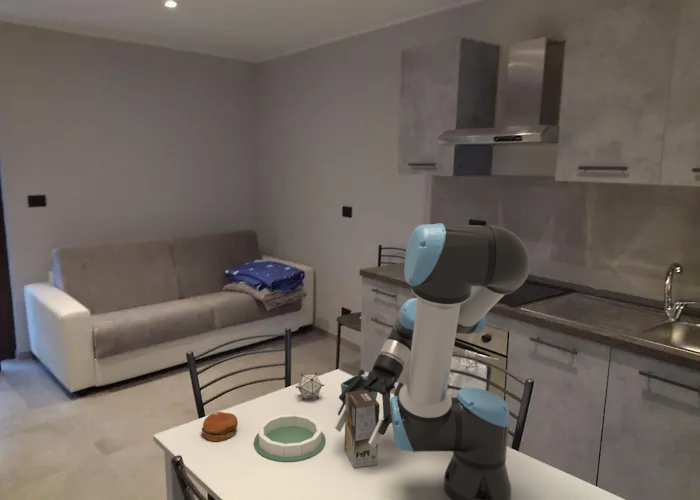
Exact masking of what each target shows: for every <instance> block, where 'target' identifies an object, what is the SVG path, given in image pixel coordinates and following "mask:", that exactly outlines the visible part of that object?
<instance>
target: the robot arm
mask: <svg viewBox="0 0 700 500" xmlns="http://www.w3.org/2000/svg"><path fill="white" fill-rule="evenodd" d="M403 269H404V271H403V272H404V274H403V275H404V279H405V282H406V283H407V285H410V290H411V292H412V294H413V295H414V296H416V297H413V298H410V299H408V300H406V301H404V303H403V304H402V306H401V307H400V309H399V310H398V315H397V317H396V320H395V322H394V324H393V326H392V329H391V331H390V333H389V334H388V337H387V338H386V340H385V342H384V344H383V346H382V348H381V350H380V351H379V354H378V356H377V358H376V360H375V361H374V364H373V365H372V366H373V367H372V369H371V370H370V372H368V371H365V370H364V369H360V370H359V372H358V374H357V375H358V376H357V377H356V378H355V379H354V380H353V381H352V383H351V384H350V385H349V386H348V387H347V388H346V389H345V390H344V391H343V393H342V392H341V393H340V395H339V396H338V399H339V401H341V402H342V404H341V407H340V409H339V411H338V413H337V415H338V417H337V419H336V422H335V423H334V424H333V428H334V429H335V430H336V431H337V432H339V433H340V432H341V431H342V429H343V427H345V410H346V392H353V391H359V390H368V391H369V392H370V393H371V392H372V391H374V392H378V393H377V394H380V395H381V397H382V399H381V400H382V410H383V411H382V412H383V413H382V415H383V416H382V417H379V421H378V423H377V426H376V428H375V430H374V432H373V434H372V436H371V438H370V440H369V442H368V443H369V444H370V445H371V446H372V447H374V448H375V447H376V445H377V443H378V444H379V440H380V438H381V436H384V435H385V434H386V433H387V430H388V428H389V426H390V424H391V425H392V433H393V439H394V444H395V446H396V448H397V449H398V450H399V451H401V452H402V451H403V452H412V453H416V452H418V453H419V452H422V453H423V452H428V453H429V452H435V453H436V452H437V453H438V452H439V453H440V452H451V453H452V452H453V453H452V456H451V458H450V460H449V463H448V465H447V466H446V467H447V468H446V470H445V471H444V474H443V489H444V492H445V494H446V495H447V496H448V497H449V498H451V500H511V498H512V497H511V496H512V494H511V493H512V485H511V483H510V479H509V473H508V469H507V465H506V458H507V450H508V449H507V447H508V436H509V429H510V428H509V427H510V424H511V422H510V407H509V405H508V403H507V402H506V401H505V400H504V399H503V398H502V397H500V396H499V395H497V394H496V393H493V392H491V391H488V390H485V389H482V388H478V387H464V388H460V389H459V390H458V391H457V393H456V396H455V397H452V396H451V393H449V391H448V384H449V378H450V372H451V366H452V360H453V359H452V358H453V353H454V349H455V348H454V347H455V343H456V342H455V341H456V335H457V334H461V335H462V334H463V335H464V334H465V335H473V334H480V333H481V334H482V332H483V331H484V328H485V326H486V314H488V312H489V311H490V310H491V309H492V308H493V307H494V306H496V304H497V303H498V302H499V301H500V300H501V299H502V298H503V297H504V296H505V295H509V294H512V293H514V292H516V291H517V290H518V289H519V288H521V286H522V285H523V284H525V282H526V280H527V279H528V277H529V273H530V269H531V258H530V255H529V251H528V249H527V247H526V245H525V244H524V242H523V241H522V240H521V239H520V238H519V236H517V235H516V234H515V233H514V232H512V231H510V230H509V229H507V228H504V227H501V226H498V225H489V224H488V225H487V224H486V225H479V224H477V225H473V224H449V223H447V224H445V223H441V222H437V223H435V224H434V223H431V224H430V223H429V224H427V223H426V224H420V225H418V226H417V227H415V229H414V230H413V231H412V232H411V235H410V236H409V240H408V243H407V247H406V250H405V257H404V266H403ZM408 360H409V364H408V365H409V366H408V373H407V382H406V383H405V384H403V383H402V382H398V380H399V379H400V377H401V375H402V373H403V371H404V366H406V365H407V362H408ZM367 378H368V381H366V382H365V383H364V381H365V380H367ZM363 383H364V384H363ZM362 384H363V386H362V387H360V386H361V385H362ZM368 386H369V387H368ZM359 387H360V388H359ZM358 388H359V389H358ZM357 389H358V390H357ZM393 389H394V396H392V397H391V391H392V390H393Z"/></svg>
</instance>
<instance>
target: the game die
mask: <svg viewBox="0 0 700 500" xmlns="http://www.w3.org/2000/svg"><path fill="white" fill-rule="evenodd" d="M317 373H318V372H317V371H316V372H315V373H314V374H306V375H304V374H303V373H300V376H301V378H300V379H299V383H298V385H296V386H295V389H298V391H299V392H300V394H301V396H302V401H304V400H305V399H309V398H310V399H312V398H316V399H318V400H319V399H320V398H319V397H320V396H319V393H320V391H321V389H322V387H324V386H325V384H322V382H321V381H320V379H319V378H318V375H317Z"/></svg>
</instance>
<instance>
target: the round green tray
mask: <svg viewBox="0 0 700 500" xmlns="http://www.w3.org/2000/svg"><path fill="white" fill-rule="evenodd" d="M253 445H254V447H253V448H254V450H255V451H256V452H257V453H258V454H259V455H260V456H261V457H264V458H265V459H267V460H271V461H274V462H278V463H279V462H281V463H293V462H294V463H295V462H301V461H304V460H308V459H311V458H313V457H315V456H316V455H318V454H319V453H321V452H322V451H323V449H324V448H325V445H326V436H325V433H323V430H322V427H321V424H320V422H318V421H317V420H315V419H314V418H312V417H311V416H307V415H303V414H295V413H294V414H279V415H277V416H274V417H271V418H269V419H266V420H265V421H264V422H263V423H261V425H260V426H259V427H258V433H257V434H256V435H255V437H254V441H253Z"/></svg>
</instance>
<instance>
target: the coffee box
mask: <svg viewBox="0 0 700 500" xmlns="http://www.w3.org/2000/svg"><path fill="white" fill-rule="evenodd" d="M379 419H380V403H379V402H378V400H377V398H376V399H375V398H374V397H373V396H372V395H371V393H370V392H369V391H368V390H359V391H353V392H346V410H345V424H344V452H345V453H346V455H347V457H348V459H349V461H350V462H351V464H352V466H353V467H354V469H356V468H363V467H368V466H376V465H377V464H378V449H379V448H378V447H379V442H378V443H377V445H376V447H375V448H374V447H372V446H371V445H370V444H369V443H368V442H369V440H370V438H371V436H372V434H373V432H374V430H375V428H376V426H377V423H378V421H379Z"/></svg>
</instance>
